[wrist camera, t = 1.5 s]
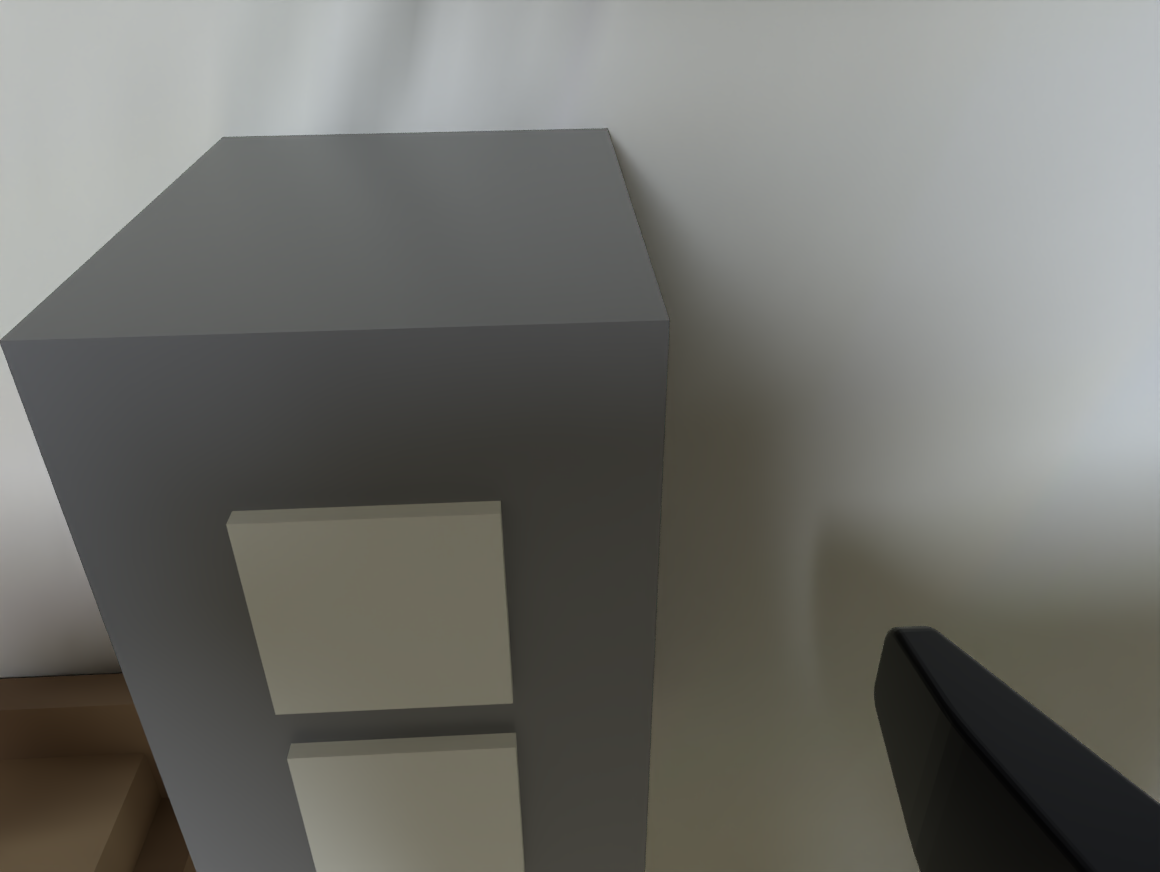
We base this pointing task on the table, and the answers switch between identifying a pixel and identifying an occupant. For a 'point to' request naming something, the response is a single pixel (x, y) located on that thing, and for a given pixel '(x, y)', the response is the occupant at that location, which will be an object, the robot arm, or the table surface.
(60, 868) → the cradle board
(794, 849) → the table surface
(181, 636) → the power strip
